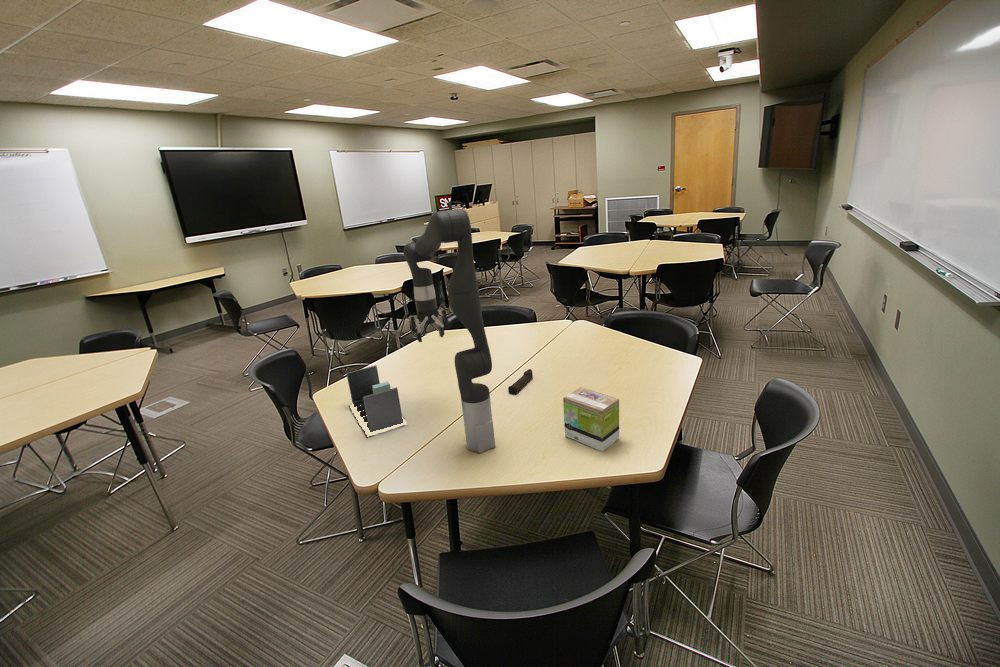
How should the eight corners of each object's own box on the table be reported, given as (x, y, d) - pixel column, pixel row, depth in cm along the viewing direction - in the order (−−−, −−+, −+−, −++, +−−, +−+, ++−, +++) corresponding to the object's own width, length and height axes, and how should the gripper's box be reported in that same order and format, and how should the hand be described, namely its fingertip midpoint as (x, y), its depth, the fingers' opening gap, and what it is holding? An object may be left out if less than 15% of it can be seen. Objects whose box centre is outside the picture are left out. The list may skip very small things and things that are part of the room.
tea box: (563, 437, 151) (561, 396, 147) (581, 425, 158) (580, 385, 153) (602, 453, 141) (601, 409, 136) (620, 439, 147) (620, 397, 143)
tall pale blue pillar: (394, 412, 177) (389, 384, 173) (379, 417, 174) (374, 388, 170) (392, 409, 179) (387, 381, 176) (377, 414, 177) (372, 385, 173)
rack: (407, 424, 168) (401, 387, 164) (366, 438, 162) (359, 399, 157) (385, 396, 194) (379, 364, 189) (348, 407, 187) (341, 373, 182)
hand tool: (516, 396, 184) (515, 385, 183) (508, 394, 186) (507, 384, 185) (538, 378, 199) (537, 368, 198) (530, 377, 201) (529, 367, 200)
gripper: (409, 302, 161) (416, 346, 166) (447, 295, 167) (452, 337, 172) (403, 299, 167) (409, 341, 172) (439, 292, 174) (444, 332, 178)
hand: (431, 339), depth 172 cm, fingers open, 8 cm apart
